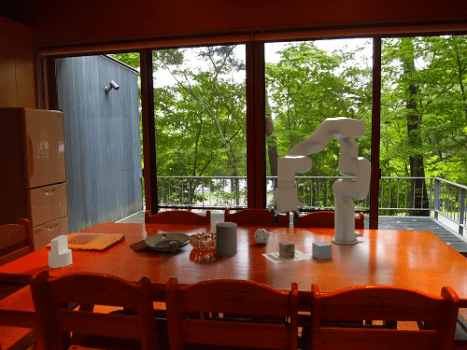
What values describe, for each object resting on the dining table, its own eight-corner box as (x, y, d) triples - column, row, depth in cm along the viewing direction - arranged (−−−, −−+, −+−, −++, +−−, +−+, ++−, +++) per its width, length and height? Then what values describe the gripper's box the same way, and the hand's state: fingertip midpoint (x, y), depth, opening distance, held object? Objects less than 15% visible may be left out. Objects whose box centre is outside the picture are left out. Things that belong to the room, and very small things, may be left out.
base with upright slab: (55, 262, 167) (53, 235, 166) (75, 262, 167) (74, 235, 166) (44, 269, 158) (43, 240, 157) (66, 268, 158) (64, 240, 157)
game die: (264, 252, 189) (269, 239, 183) (248, 245, 191) (252, 232, 184) (269, 239, 196) (274, 226, 190) (254, 233, 198) (258, 220, 191)
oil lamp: (194, 241, 197) (193, 227, 197) (185, 259, 168) (185, 242, 167) (151, 242, 198) (150, 227, 197) (135, 260, 168) (134, 243, 167)
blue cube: (324, 254, 171) (324, 241, 171) (331, 258, 165) (331, 244, 165) (312, 256, 169) (312, 242, 169) (319, 260, 164) (319, 246, 163)
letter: (297, 250, 178) (297, 250, 178) (313, 259, 165) (313, 258, 165) (261, 254, 172) (261, 254, 172) (274, 263, 159) (274, 263, 159)
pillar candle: (212, 255, 173) (212, 222, 171) (220, 249, 182) (220, 218, 180) (233, 257, 169) (232, 224, 168) (240, 251, 178) (240, 219, 177)
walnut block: (289, 254, 172) (289, 241, 171) (294, 257, 167) (294, 243, 166) (279, 255, 170) (279, 242, 170) (284, 258, 165) (284, 245, 165)
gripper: (299, 183, 172) (299, 220, 173) (264, 184, 167) (264, 223, 168) (308, 185, 165) (307, 224, 166) (271, 186, 159) (271, 227, 161)
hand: (286, 223), depth 167 cm, fingers open, 9 cm apart
